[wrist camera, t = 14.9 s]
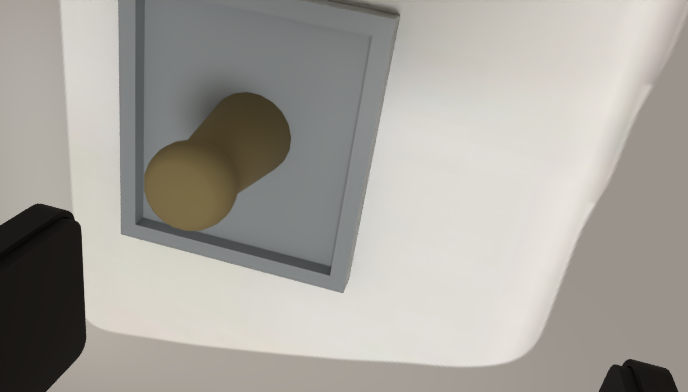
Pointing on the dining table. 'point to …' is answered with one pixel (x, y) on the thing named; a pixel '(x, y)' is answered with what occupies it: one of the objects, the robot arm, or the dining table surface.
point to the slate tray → (287, 94)
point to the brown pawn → (217, 162)
